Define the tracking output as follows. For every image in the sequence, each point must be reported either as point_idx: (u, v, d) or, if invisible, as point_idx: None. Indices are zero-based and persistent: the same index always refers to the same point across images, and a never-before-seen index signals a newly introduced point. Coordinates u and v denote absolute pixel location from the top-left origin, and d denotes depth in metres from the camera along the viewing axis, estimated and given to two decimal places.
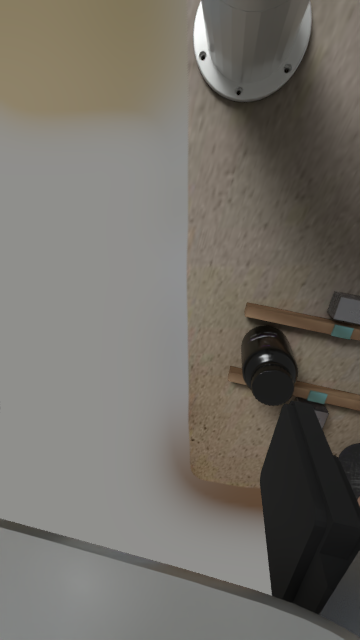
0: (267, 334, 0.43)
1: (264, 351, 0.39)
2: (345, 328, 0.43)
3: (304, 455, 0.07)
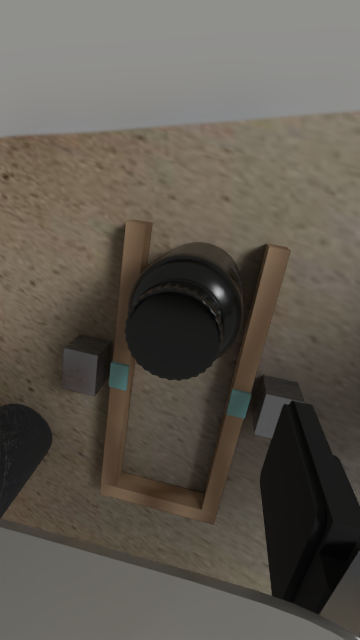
0: None
1: (238, 301, 0.17)
2: (245, 408, 0.27)
3: (304, 455, 0.07)
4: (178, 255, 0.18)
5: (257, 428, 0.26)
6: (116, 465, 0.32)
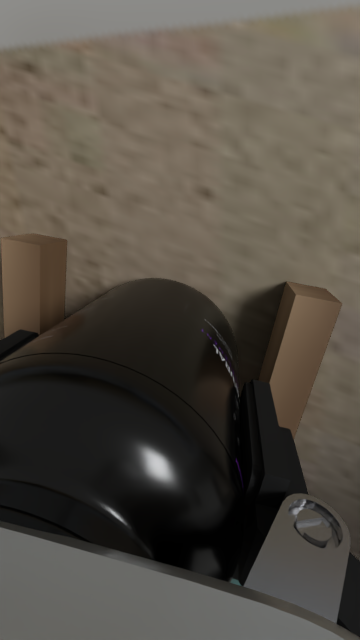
0: None
1: (229, 515, 0.05)
2: None
3: (253, 423, 0.08)
4: (36, 367, 0.05)
5: None
6: None
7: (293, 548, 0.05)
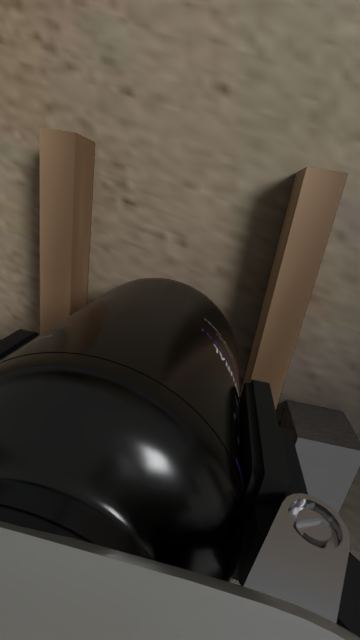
0: None
1: (229, 515, 0.05)
2: None
3: (253, 423, 0.08)
4: (36, 366, 0.05)
5: None
6: None
7: (293, 548, 0.05)
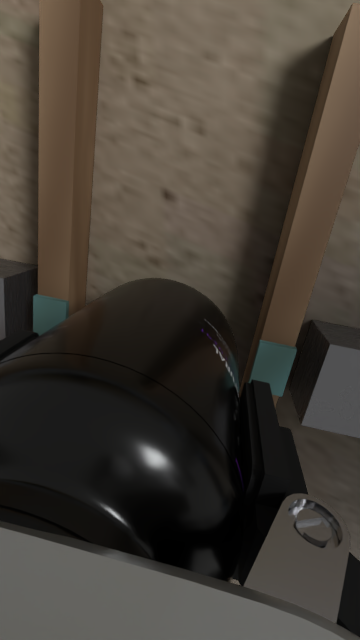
0: None
1: (229, 515, 0.05)
2: (283, 376, 0.14)
3: (252, 423, 0.08)
4: (36, 367, 0.05)
5: (308, 413, 0.14)
6: None
7: (293, 548, 0.05)
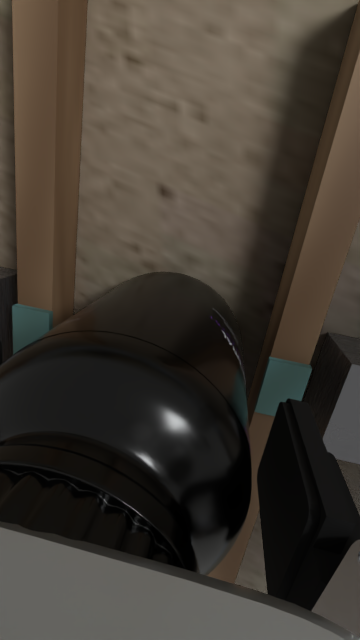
0: None
1: (240, 470, 0.06)
2: (296, 398, 0.13)
3: (299, 451, 0.07)
4: (73, 341, 0.06)
5: (324, 441, 0.12)
6: None
7: None
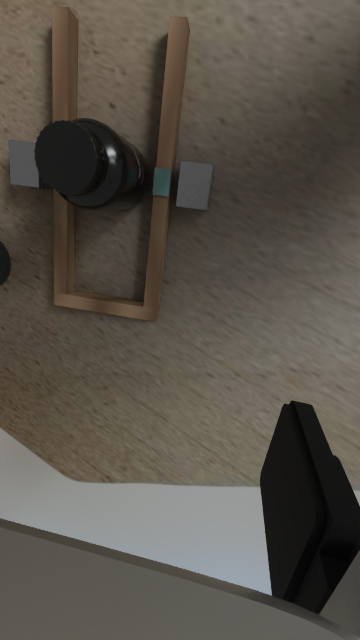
0: (140, 167, 0.29)
1: (120, 149, 0.25)
2: (167, 184, 0.31)
3: (304, 455, 0.07)
4: (77, 119, 0.25)
5: (177, 199, 0.31)
6: (65, 269, 0.36)
7: None
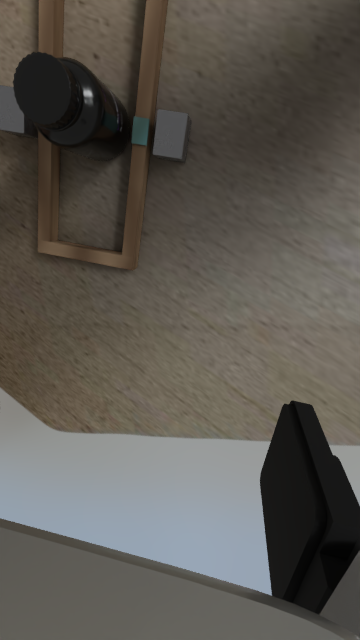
0: (118, 113, 0.31)
1: (96, 87, 0.27)
2: (145, 133, 0.33)
3: (304, 455, 0.07)
4: (57, 58, 0.27)
5: (154, 147, 0.33)
6: (49, 217, 0.38)
7: None
